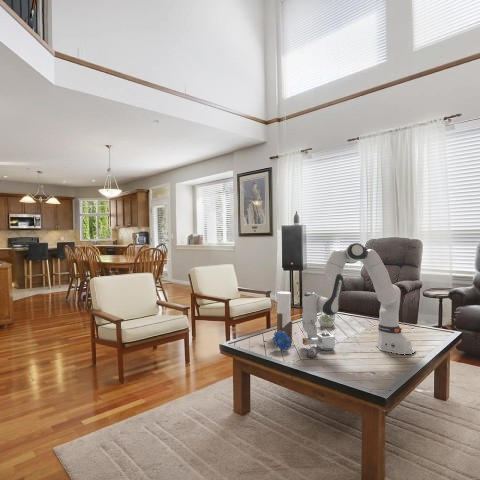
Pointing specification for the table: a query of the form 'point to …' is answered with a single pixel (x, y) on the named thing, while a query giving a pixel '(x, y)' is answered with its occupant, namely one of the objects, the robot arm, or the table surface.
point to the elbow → (321, 341)
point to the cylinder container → (284, 307)
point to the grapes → (282, 340)
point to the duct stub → (311, 352)
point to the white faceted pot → (325, 349)
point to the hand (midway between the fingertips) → (309, 340)
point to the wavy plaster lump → (326, 320)
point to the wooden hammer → (286, 329)
